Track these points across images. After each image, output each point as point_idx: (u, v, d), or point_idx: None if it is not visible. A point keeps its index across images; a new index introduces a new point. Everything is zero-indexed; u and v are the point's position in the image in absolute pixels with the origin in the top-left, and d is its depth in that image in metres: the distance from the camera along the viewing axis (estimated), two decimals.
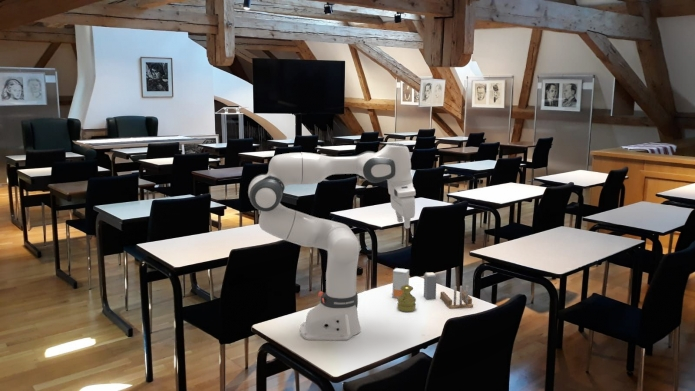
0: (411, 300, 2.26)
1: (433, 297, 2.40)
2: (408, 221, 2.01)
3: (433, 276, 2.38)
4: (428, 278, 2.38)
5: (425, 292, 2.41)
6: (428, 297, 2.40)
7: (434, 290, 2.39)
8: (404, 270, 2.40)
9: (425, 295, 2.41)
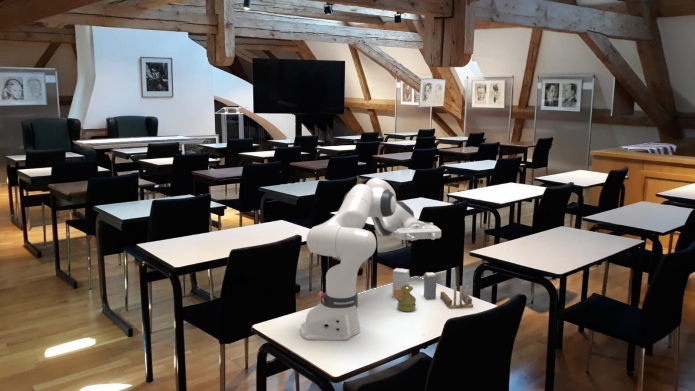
0: (411, 300, 2.26)
1: (433, 297, 2.40)
2: None
3: (433, 276, 2.38)
4: (428, 278, 2.38)
5: (425, 292, 2.41)
6: (428, 297, 2.40)
7: (434, 290, 2.39)
8: (404, 270, 2.40)
9: (425, 295, 2.41)
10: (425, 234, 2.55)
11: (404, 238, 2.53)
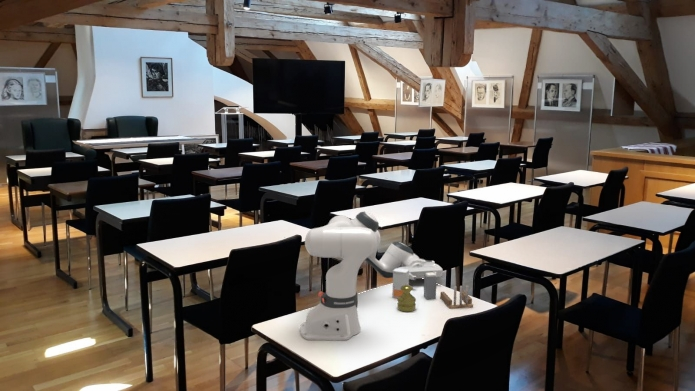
0: (411, 300, 2.26)
1: (433, 297, 2.40)
2: (436, 275, 2.53)
3: (433, 276, 2.38)
4: (428, 278, 2.38)
5: (425, 292, 2.41)
6: (428, 297, 2.40)
7: (434, 290, 2.39)
8: (404, 270, 2.40)
9: (425, 295, 2.41)
10: None
11: None
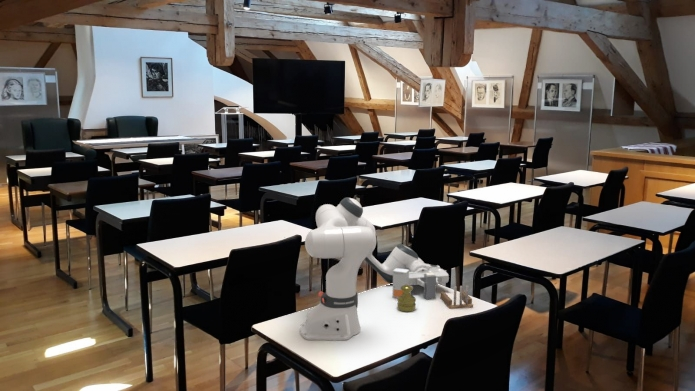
0: (411, 300, 2.26)
1: (433, 297, 2.40)
2: None
3: (433, 276, 2.38)
4: (428, 278, 2.38)
5: (425, 292, 2.41)
6: (428, 297, 2.39)
7: (434, 290, 2.39)
8: (404, 270, 2.40)
9: (425, 295, 2.41)
10: None
11: (410, 283, 2.44)
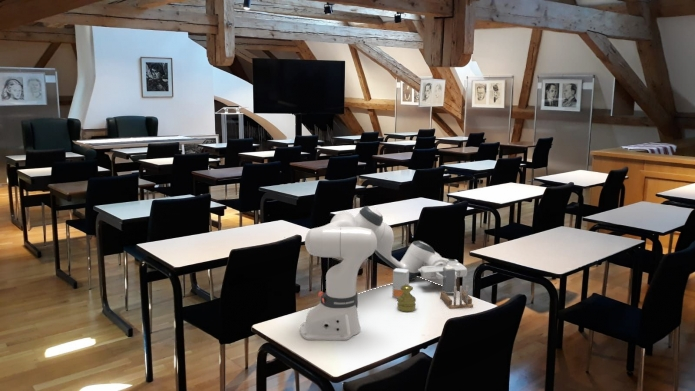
0: (411, 300, 2.26)
1: (452, 291, 2.43)
2: None
3: (452, 270, 2.41)
4: (447, 272, 2.41)
5: (444, 285, 2.44)
6: (447, 290, 2.42)
7: (453, 283, 2.42)
8: (404, 270, 2.40)
9: (444, 288, 2.44)
10: None
11: (429, 277, 2.47)
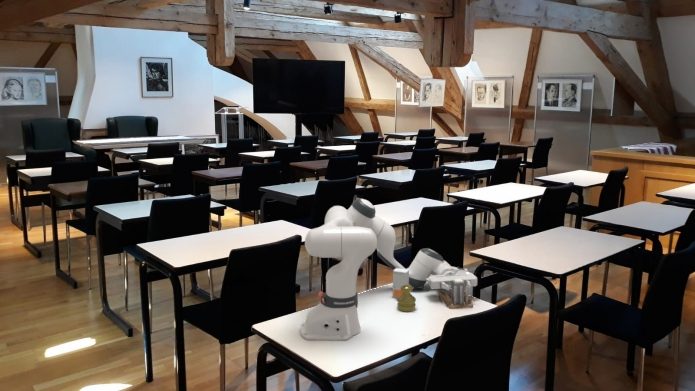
0: (411, 300, 2.26)
1: None
2: None
3: (461, 282, 2.30)
4: (456, 285, 2.30)
5: (453, 299, 2.33)
6: (456, 304, 2.32)
7: (462, 297, 2.31)
8: (404, 270, 2.40)
9: (453, 302, 2.33)
10: None
11: (438, 287, 2.36)
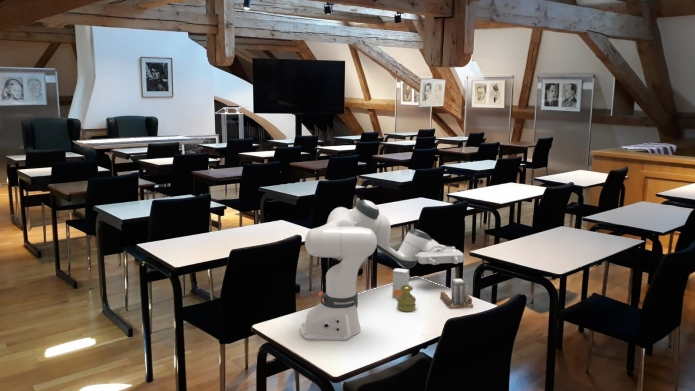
0: (411, 300, 2.26)
1: None
2: None
3: (461, 283, 2.30)
4: (456, 285, 2.30)
5: (453, 299, 2.33)
6: (456, 304, 2.32)
7: (462, 297, 2.31)
8: (404, 270, 2.40)
9: (453, 302, 2.33)
10: (448, 258, 2.49)
11: (426, 262, 2.47)
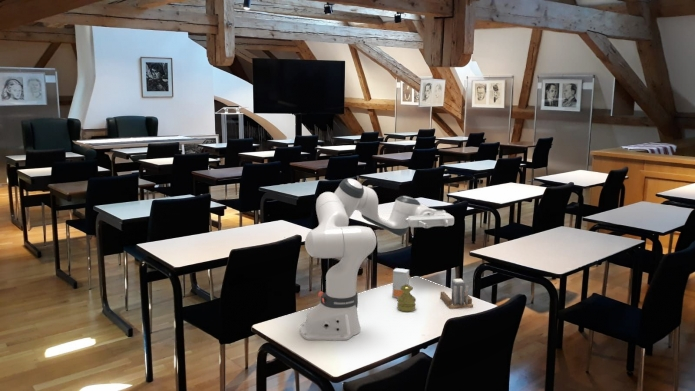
0: (411, 300, 2.26)
1: None
2: None
3: (461, 283, 2.30)
4: (456, 285, 2.30)
5: (453, 299, 2.33)
6: (456, 304, 2.32)
7: (462, 297, 2.31)
8: (404, 270, 2.40)
9: (453, 302, 2.33)
10: (438, 222, 2.48)
11: (416, 225, 2.46)
